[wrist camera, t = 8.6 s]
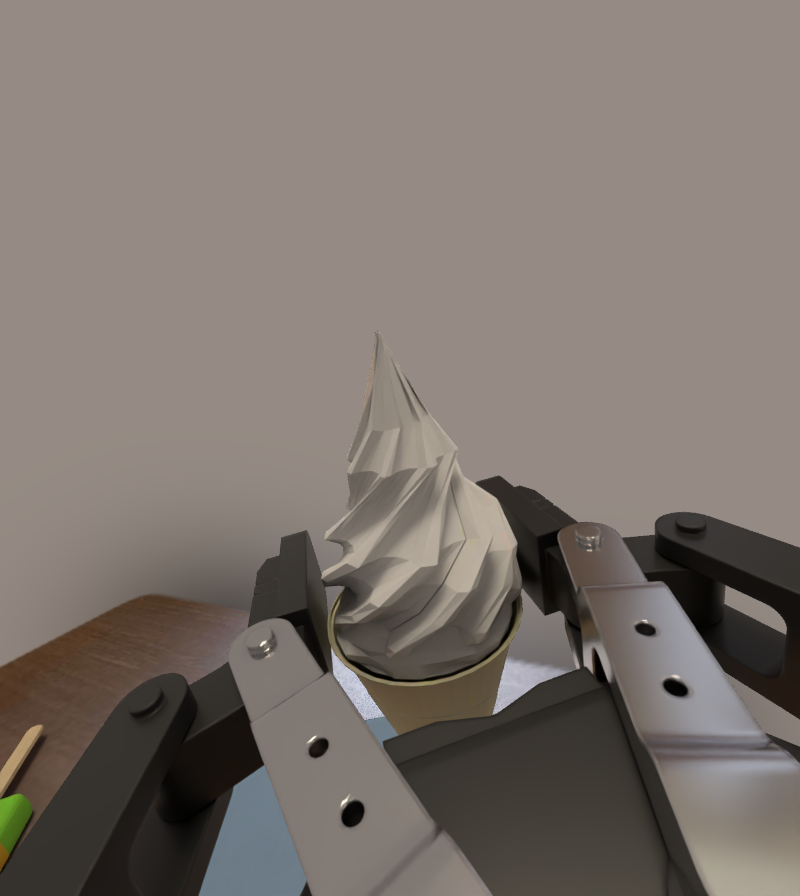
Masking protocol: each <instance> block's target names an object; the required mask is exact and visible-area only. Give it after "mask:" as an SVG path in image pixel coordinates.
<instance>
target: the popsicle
mask: <svg viewBox="0 0 800 896" xmlns="http://www.w3.org/2000/svg"><path fill="white" fill-rule="evenodd" d="M43 729H44V727H43V726H42V725H37V726H34V727H32V728H31V729H29V730H28V731H27V733H26V734H25V735H24V737H23V739H22V740H21V742H20V743H19V745H18V746H17V748H16V749H15V751H14V752H13V754H12V755H11V757H10V758H9V760H8V761H7V763H6V764H5V766H4V767H3V769H2V771H1V772H0V872H1V870H2V868H3V866H4V864H5V862H6V861H7V859H8V857H9V855H10V853H11V851H12V849H13V848H14V846H15V844H16V842H17V840H18V838H19V836H20V835H21V833H22V831H23V829H24V827H25V825H26V823H27V822H28V820H29V818H30V816H31V814H32V805H31V803H30V802H29V801H28V799H27V798H26V797H25V796H24V795H22V794H15V795H12V796H9V797H6V798H3V799H1V797H2V796H3V794H4V793H5V791H6V789H7V788H8V786H9V784H10V783H11V781H12V780H13V778H14V776H15V775H16V773H17V772H18V770H19V768H20V767H21V765H22V763H23V762H24V760H25V759H26V757H27V755H28V754H29V752H30V751H31V749H32V747H33V746H34V744H35V743H36V741H37V739H38V738H39V736H40V734H41V733H42V731H43Z"/></svg>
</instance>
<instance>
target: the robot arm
mask: <svg viewBox="0 0 800 896" xmlns="http://www.w3.org/2000/svg"><path fill="white" fill-rule="evenodd" d="M475 484H476V485H477V486H479V487H480V488H482V489H483V490H485V491H486V492H488V493H489V494H491V495H492V496H494V497H495V498H497V500H498V502H499V504H500V506H501V508H502V510H503V513H504V515H505V517H506V519H507V521H508V523H509V526H510V528H511V530H512V532H513V534H514V536H515V538H516V541H517V543H518V544H517V552H516V558H517V562H518V566H519V570H520V574H521V578H522V588H523V589H524V590H525V592H526V593H527V594H528V595H529V596H530V598H531V599H532V600H533V601H534V603H535V604H536V605H537V606H538V607H539V609H540V610H541V611H542V612H543V614H544V615H545V616H546V615H549V614H551V613H555V612H557V611H561V612H562V613H563V614H564V619H565V629H566V633H567V636H568V640H569V643H570V647H571V650H572V654H573V657H574V661H575V664H576V668H577V670H574V671H572V672H569V673H566V674H564V675H561V676H558V677H555V678H553V679H550V680H547V681H545V682H542V683H539V684H538V685H536V686H535V687H533V688H532V689H531V690H529V691H528V692H527V693H525V694H524V695H522V696H521V697H520V698H518V699H517V700H515V701H514V702H513V703H511V704H510V705H508V706H507V707H506V708H504V709H503V710H501V711H500V712H498V713H497V714H495V715H491V716H485V717H475V718H466V719H456V720H447V721H438V722H433V723H431V724H428V725H425V726H422V727H420V728H417V729H414V730H412V731H409V732H406V733H404V734H401V735H398V736H395V737H393V738H390V739H387V740H385V741H382V742H383V746H382V745H381V744H380V742H379V741H378V739H377V738H376V736H375V735H374V733H373V732H372V730H371V729H370V728H369V726H368V725H367V723H366V722H365V720H364V719H363V717H362V716H361V714H360V713H359V711H358V710H357V709H356V707H355V706H354V704H353V703H352V701H351V700H350V698H349V697H348V695H347V694H346V693H345V691H344V690H343V688H342V687H341V685H340V684H339V682H338V681H337V679H336V678H335V677H334V675H333V665H332V654H331V645H330V643H329V638H328V627H327V623H328V610H327V598H326V591H325V587H324V584H323V582H322V580H321V577H322V574H321V571H320V568H319V565H318V562H317V558H316V555H315V552H314V549H313V546H312V542H311V539H310V536H309V534H308V532H307V530H305V531H302V532H298V533H295V534H292V535H288V536H285V537H282V538H281V547H280V556H276V557H273V558H270V559H267V560H266V561H265V562H264V564H263V565H262V566H261V568H260V569H259V571H258V572H257V579H256V586H255V589H254V597H253V601H252V606H251V612H250V618H249V624H248V628H247V629H246V630H245V631H243V632H242V633H241V634H240V635H239V636H238V637H237V638H236V639H235V640H234V642H233V643H232V645H231V647H230V649H229V651H228V662H227V663H226V664H224V665H223V666H222V667H220V668H219V669H217V670H215V671H214V672H212V673H210V674H208V675H207V676H205V677H203V678H201V679H200V680H198V681H196V682H194V683H192V684H191V685H188V683H187V681H186V679H185V678H184V677H183V676H182V675H180V674H175V673H170V674H164V675H160V676H157V677H155V678H152V679H150V680H148V681H146V682H145V683H143V684H141V685H140V686H138V687H137V688H135V689H134V690H133V691H131V692H130V693H129V694H128V695H127V696H126V697H125V698H123V700H122V701H121V702H120V703H119V704H118V705H117V706H116V708H115V709H114V710H113V712H112V713H111V715H110V716H109V718H108V719H107V720H106V722H105V723H104V725H103V726H102V728H101V729H100V731H99V732H98V734H97V735H96V736H95V738H94V739H93V741H92V742H91V744H90V745H89V747H88V748H87V750H86V751H85V752H84V754H83V755H82V757H81V758H80V760H79V761H78V763H77V764H76V766H75V767H74V768H73V770H72V771H71V773H70V774H69V776H68V777H67V779H66V780H65V782H64V783H63V784H62V786H61V787H60V789H59V790H58V792H57V793H56V795H55V796H54V797H53V799H52V800H51V802H50V803H49V805H48V806H47V808H46V809H45V811H44V812H43V813H42V815H41V816H40V818H39V819H38V821H37V822H36V824H35V825H34V827H33V828H32V829H31V831H30V832H29V834H28V835H27V837H26V838H25V840H24V841H23V843H22V844H21V845H20V847H19V848H18V850H17V851H16V853H15V854H14V856H13V857H12V858H11V860H10V861H9V863H8V864H7V866H6V867H5V869H4V870H3V872H2V873H1V874H0V896H199V893H200V890H201V887H202V884H203V881H204V878H205V875H206V872H207V869H208V866H209V863H210V860H211V857H212V854H213V851H214V848H215V845H216V842H217V839H218V836H219V833H220V830H221V827H222V824H223V821H224V818H225V815H226V812H227V809H228V806H229V803H230V800H231V797H232V793H233V789H234V786H235V785H237V784H238V783H239V782H241V781H242V780H244V779H245V778H247V777H248V776H249V775H251V774H252V773H254V772H255V771H257V770H258V769H259V768H261V767H262V766H264V765H265V768H266V770H267V773H268V776H269V779H270V781H271V784H272V787H273V790H274V792H275V795H276V798H277V801H278V803H279V806H280V809H281V812H282V814H283V817H284V820H285V823H286V825H287V828H288V831H289V833H290V836H291V839H292V842H293V844H294V847H295V850H296V853H297V855H298V858H299V861H300V864H301V866H302V869H303V872H304V875H305V877H306V880H307V881H306V883H305V886H304V888H303V890H302V892H301V894H300V896H800V747H799V746H797V745H794V744H791V743H789V742H787V741H784V740H782V739H779V738H777V737H774V736H772V735H769V734H767V733H765V732H764V731H763V730H762V728H761V727H760V725H759V724H758V722H757V721H756V719H755V718H754V716H753V715H752V713H751V711H750V710H749V709H748V707H747V705H746V704H745V702H744V701H743V700H742V698H741V696H740V695H739V693H738V692H737V690H736V689H735V687H734V686H733V684H732V683H731V681H730V680H729V678H728V677H727V675H726V674H725V672H726V673H727V674H729V675H730V676H732V677H734V678H735V679H737V680H738V681H740V682H741V683H743V684H745V685H746V686H748V687H749V688H751V689H752V690H754V691H756V692H757V693H759V694H760V695H762V696H764V697H765V698H767V699H768V700H770V701H772V702H773V703H775V704H776V705H778V706H779V707H781V708H783V709H784V710H786V711H787V712H789V713H790V714H792V715H794V716H795V717H797V718H799V719H800V548H799V547H796V546H793V545H791V544H787V543H785V542H782V541H779V540H776V539H773V538H770V537H767V536H764V535H762V534H759V533H756V532H753V531H750V530H747V529H744V528H741V527H739V526H735V525H732V524H730V523H727V522H724V521H721V520H718V519H715V518H713V517H710V516H706V515H702V514H698V513H690V512H678V513H670V514H666V515H663V516H661V517H660V518H658V519H657V520H656V522H655V535H649V536H638V537H628V538H627V537H626V538H622V537H621V536H620V535H619V533H618V532H617V531H616V530H615V529H613V528H611V527H609V526H607V525H604V524H599V523H593V522H580V523H578V522H577V521H576V520H574V519H573V518H572V517H570V516H569V515H568V514H566V513H565V512H563V511H562V510H561V509H559V508H558V507H557V506H554V505H553V503H551V502H550V501H549V500H547V499H545V497H543V496H542V495H541V494H539V493H538V492H536V491H535V490H532V489H529V488H526V487H523V486H517V487H513V486H512V485H511V484H510V483H508V482H507V481H506V480H505V479H503V478H502V477H501V476H495V477H492V478H488V479H485V480H481V481H478V482H476V483H475ZM725 585H727V586H729V587H731V588H733V589H735V590H737V591H740V592H742V593H744V594H746V595H748V596H750V597H752V598H755V599H757V600H759V601H761V602H763V603H765V604H767V605H769V606H771V607H772V608H773V609H775V610H776V611H777V612H778V613H779V614H780V615H781V616H782V618H783V619H784V621H785V623H786V626H787V633H786V635H785V634H783V633H781V632H779V631H777V630H775V629H773V628H771V627H769V626H767V625H765V624H763V623H761V622H759V621H757V620H755V619H753V618H751V617H749V616H747V615H745V614H743V613H741V612H739V611H737V610H735V609H733V608H731V607H729V606H727V605H725V604H724V599H725ZM383 747H384V748H383ZM139 829H140V830H139ZM138 831H139V832H138Z"/></svg>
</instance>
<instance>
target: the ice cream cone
mask: <svg viewBox="0 0 800 896" xmlns="http://www.w3.org/2000/svg"><path fill="white" fill-rule="evenodd" d="M375 336H376V339H375V345H374V351H373V357H372V362H371V367H370V372H369V377H368V382H367V387H366V392H365V397H364V402H363V407H362V412H361V417H360V422H359V427H358V430H357V433H356V435H355V438H354V440H353V442H352V445H351V447H350V449H349V452H348V455H347V457H346V459H347V460H348V461H350V462H351V465H350V467H349V469H348V472H347V474H348V482H349V489H350V496H349V499H348V502H347V505H346V508H347V509H349V510H350V512H349V513H348V514H347V515H346V516H344V517H343V518H342V519H341V520H340V521H339V522H338V523H337V524H335V525H334V526H333V527H332V528H331V529H329V530H328V531H327V532H326V533H325V540H327V541H332V542H336V543H339V544H341V545H342V546H343V556H342V558H341V560H340V562H339V563H338V564H336V565H334V566H333V567H331V568H329V569H327V570H325V571H323V573H322V577H321V580H322V582H323V584H324V587H328V586H338V585H339V586H345V587H344V588H343V590H342V591H341V592H340V593H339V595H338V596H337V598H336V599H335V601H334V603H333V605H332V607H331V610H330V613H329V616H328V623H327V627H328V638H329V643H330V645H331V647H332V649H333V651H334V653H335V655H336V656H337V657H338V658H339V659H340V660H341V662H342V663H343V664H344V665H345V666H346V667H347V668H349V669H350V670H352V671H353V672H354V673H355V674H356V675H357V677H358V678H359V679H360V681H361V682H362V684H363V685H364V686H365V688H366V689H367V691H368V693H369V695H370V696H371V697H372V699H373V700H374V702H375V703H376V704H377V706H378V707H379V709H380V710H381V711H382V713H383V714H384V716H385V717H386V718H387V720H388V721H389V723H390V724H391V725H392V727H393V728H394V730H395V731H396V732H397V734H398V735H401V734H404V733H406V732H409V731H412V730H414V729H417V728H420V727H422V726H425V725H428V724H431V723H433V722H438V721H447V720H456V719H466V718H475V717H485V716H491V715H492V714H493V710H494V706H495V702H496V698H497V692H498V688H499V684H500V680H501V676H502V672H503V668H504V664H505V660H506V656H507V652H508V648H509V644H510V642H511V641H512V640H513V638H514V636H515V634H516V632H517V630H518V628H519V625H520V622H521V617H522V611H523V608H522V598H521V589H522V578H521V574H520V570H519V566H518V562H517V558H516V552H517V544H518V543H517V541H516V538H515V536H514V534H513V532H512V530H511V528H510V526H509V523H508V521H507V519H506V517H505V515H504V513H503V510H502V508H501V506H500V504H499V502H498V500H497V498H495V497H494V496H492V495H491V494H489V493H488V492H486V491H485V490H483V489H482V488H480V487H479V486H477V485H476V484H474V483H473V482H471V481H470V480H468V479H467V478H465V477H464V476H463V475H462V472H461V470H460V467H459V465H458V463H457V460H456V456H457V453H458V448H457V447H456V445H455V444H454V443H453V442H452V440H451V439H450V438H449V437H448V436H447V434H446V433H445V432H444V431H443V429H442V428H441V427H440V426H439V424H438V423H437V422H436V421H435V420H434V418H433V417H432V416H431V414H430V413H429V412H428V410H427V409H426V407H425V406H424V404H423V403H422V401H421V399H420V398H419V396H418V395H417V393H416V391H415V390H414V388H413V387H412V385H411V384H410V382H409V380H408V379H407V377H406V376H405V374H404V372H403V371H402V369H401V368H400V366H399V364H398V363H397V361H396V360H395V358H394V356H393V354H392V352H391V350H390V349H389V347H388V345H387V343H386V341H385V340H384V338H383V336H382V334H381V333H380V331H377V333H376V332H375Z"/></svg>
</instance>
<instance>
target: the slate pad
mask: <svg viewBox="0 0 800 896" xmlns="http://www.w3.org/2000/svg"><path fill="white" fill-rule="evenodd" d="M365 722H366V723H367V725H368V726H369V728H370V729H371V730H372V732H373V733H374V735H375V736H376V738H377V739H378V741H379V742H380V744H381V745H382V746H383V742H382V741H385V740H387V739H390V738H393V737H395V736H398V734H397V732H396V731H395V730H394V728H393V727H392V725H391V724H390V723H389V721H388V720H387V718H386V717H380V718H374V719H369V720H365ZM383 748H384V747H383ZM306 881H307V880H306V877H305V875H304V872H303V869H302V866H301V864H300V861H299V858H298V855H297V853H296V850H295V847H294V844H293V842H292V839H291V836H290V833H289V831H288V828H287V825H286V823H285V820H284V817H283V814H282V812H281V809H280V806H279V803H278V801H277V798H276V795H275V792H274V790H273V787H272V784H271V781H270V779H269V776H268V773H267V770H266V768H265V765H264V766H262V767H261V768H259V769H258V770H257V771H255V772H254V773H252V774H251V775H249V776H248V777H247V778H245V779H244V780H242V781H241V782H239V783H238V784H237V785H235V786H234V789H233V793H232V797H231V800H230V803H229V806H228V809H227V812H226V815H225V818H224V821H223V824H222V827H221V830H220V833H219V836H218V839H217V842H216V845H215V848H214V851H213V854H212V857H211V860H210V863H209V866H208V869H207V872H206V875H205V878H204V881H203V884H202V887H201V890H200V893H199V896H300V894H301V892H302V890H303V888H304V886H305V883H306Z"/></svg>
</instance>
